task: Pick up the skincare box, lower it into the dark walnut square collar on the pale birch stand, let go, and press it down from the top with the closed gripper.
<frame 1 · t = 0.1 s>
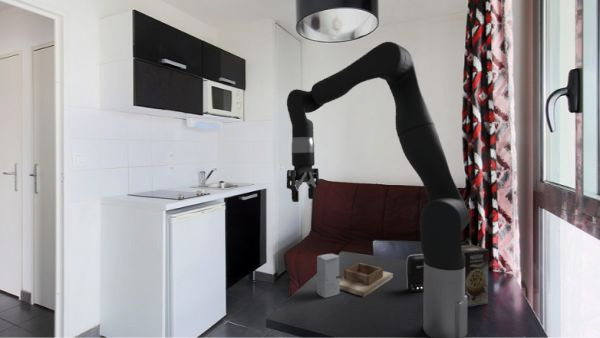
hand: (303, 200, 107), 29 cm above the table, tool pointing down, fingers open, 8 cm apart
battery charger: (418, 291, 103), on the table
coffee box: (467, 302, 95), on the table
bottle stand: (363, 281, 111), on the table
skincare box: (328, 294, 102), on the table
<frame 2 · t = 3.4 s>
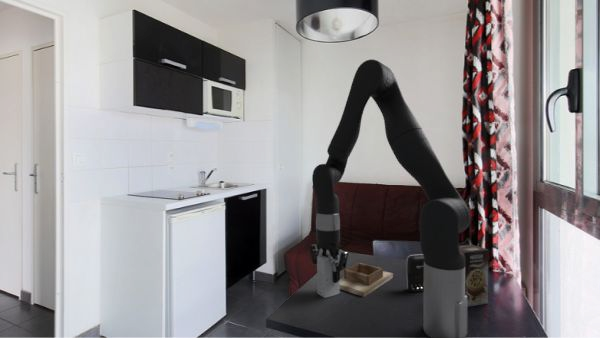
hand: (328, 279, 102), 4 cm above the table, tool pointing down, fingers closed on skincare box, 5 cm apart
skincare box: (328, 294, 102), on the table, touching gripper
everything else where it was.
when the fingers open (7 cm above the table, at t = 9.5 s): skincare box drops 1 cm, resting on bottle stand.
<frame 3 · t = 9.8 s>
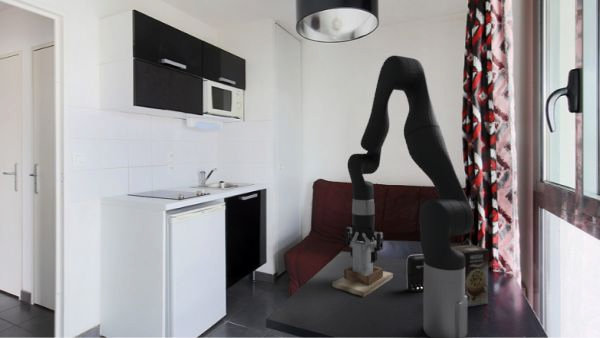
hand: (363, 259, 110), 8 cm above the table, tool pointing down, fingers open, 7 cm apart
skincare box: (363, 278, 110), point 1 cm above the table, touching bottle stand
everything else where it was.
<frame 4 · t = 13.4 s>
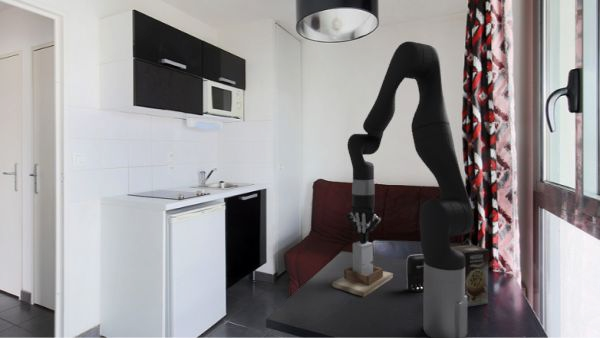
hand: (363, 242, 110), 14 cm above the table, tool pointing down, fingers closed
skincare box: (363, 278, 111), point 1 cm above the table, touching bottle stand, gripper
everything else where it was.
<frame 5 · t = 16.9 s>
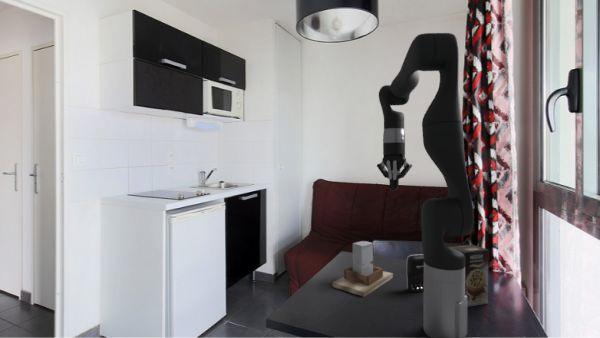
hand: (393, 189, 116), 31 cm above the table, tool pointing down, fingers closed
skincare box: (363, 278, 111), point 1 cm above the table, touching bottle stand
everything else where it was.
at the end: skincare box 0.2 cm from the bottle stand (horizontally); skincare box point 1.3 cm above the table; skincare box tilted 0° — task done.
